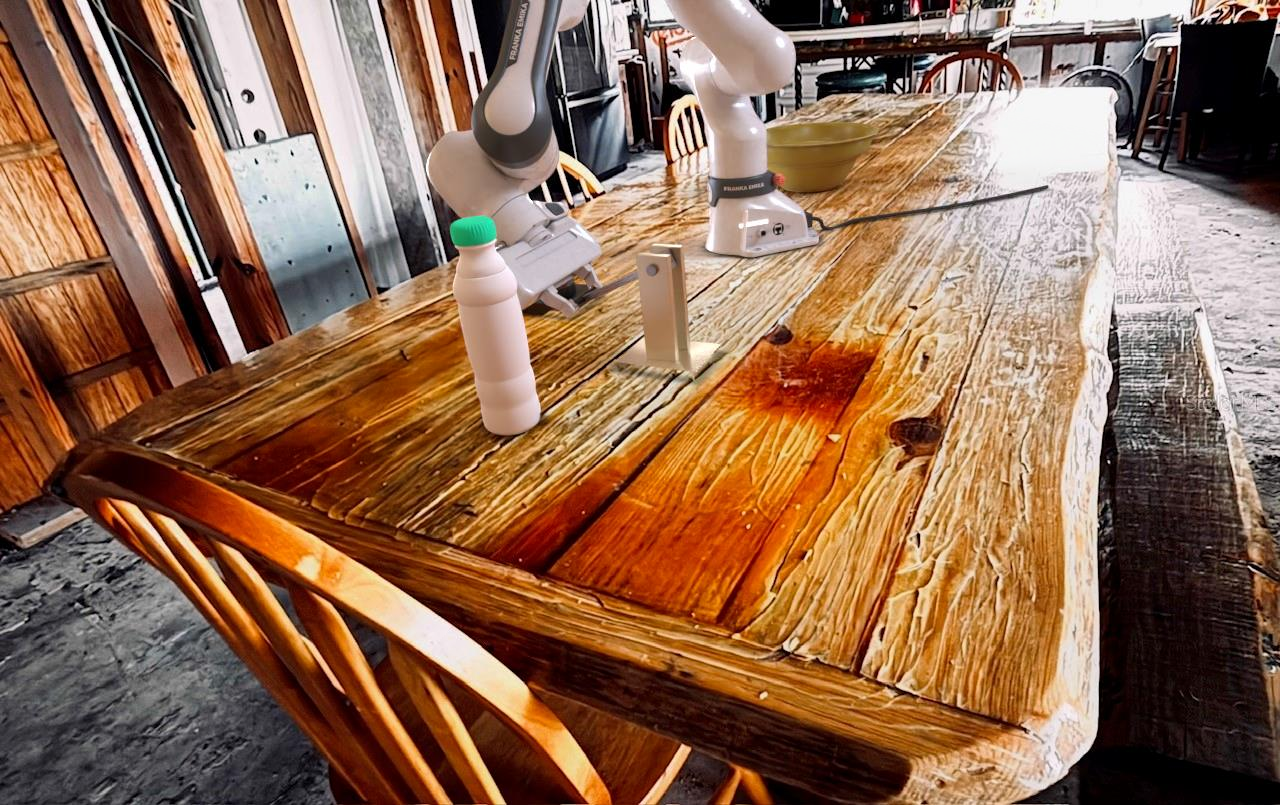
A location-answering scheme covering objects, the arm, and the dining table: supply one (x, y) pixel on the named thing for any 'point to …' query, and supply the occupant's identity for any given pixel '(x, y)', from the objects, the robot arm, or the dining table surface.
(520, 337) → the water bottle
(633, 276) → the lever
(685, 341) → the bracket
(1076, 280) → the dining table surface
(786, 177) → the planter bowl
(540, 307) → the control block
